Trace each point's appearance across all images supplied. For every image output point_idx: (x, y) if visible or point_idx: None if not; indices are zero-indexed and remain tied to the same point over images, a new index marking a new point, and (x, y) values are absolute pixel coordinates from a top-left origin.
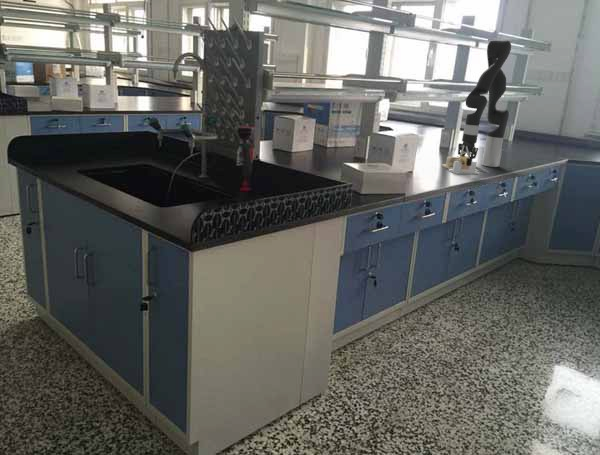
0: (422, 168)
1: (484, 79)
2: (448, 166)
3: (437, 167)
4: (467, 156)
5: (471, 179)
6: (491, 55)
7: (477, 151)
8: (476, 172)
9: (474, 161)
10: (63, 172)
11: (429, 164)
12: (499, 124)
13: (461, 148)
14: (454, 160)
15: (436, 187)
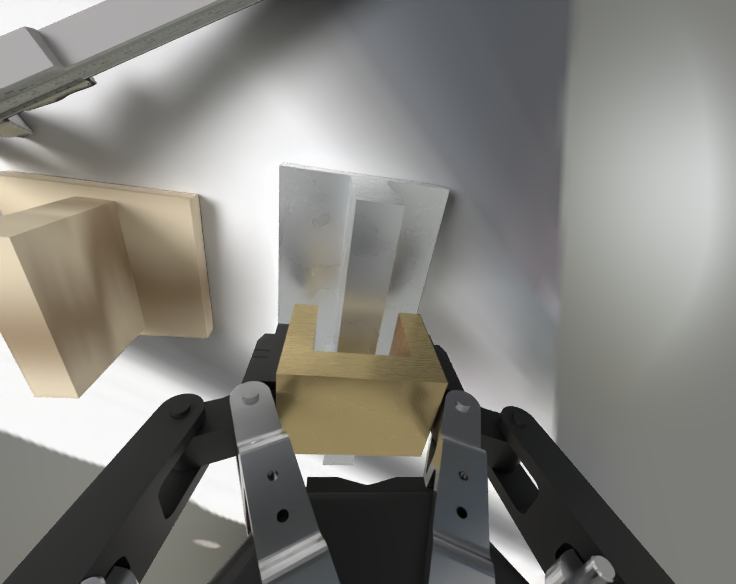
0: (204, 483)
1: None
2: (156, 325)
3: (145, 383)
4: (330, 385)
5: (534, 388)
6: None
7: (638, 542)
8: (440, 223)
9: (358, 212)
10: None
11: (10, 377)
12: None
13: (137, 547)
14: (79, 293)
15: (536, 563)
